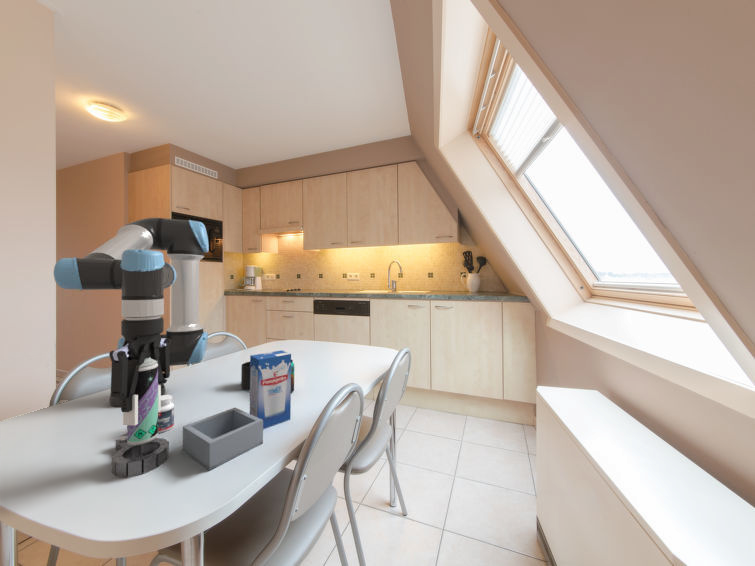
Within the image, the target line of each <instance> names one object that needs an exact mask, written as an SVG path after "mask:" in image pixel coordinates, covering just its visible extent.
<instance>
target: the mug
mask: <svg viewBox="0 0 755 566" xmlns="http://www.w3.org/2000/svg"><path fill="white" fill-rule="evenodd" d="M240 369H241V374H240V376H241V377H240V378H241V383H240V384H241V386H240V387H241V389H242V390H244V391H250V361H246V362H244V363H242V364H241V368H240Z"/></svg>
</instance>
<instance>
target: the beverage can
mask: <svg viewBox="0 0 755 566" xmlns="http://www.w3.org/2000/svg"><path fill="white" fill-rule="evenodd" d="M294 391H295V363H294V361H293V359H291V394H292V393H293V392H294Z"/></svg>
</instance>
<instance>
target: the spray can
mask: <svg viewBox="0 0 755 566" xmlns="http://www.w3.org/2000/svg"><path fill="white" fill-rule="evenodd" d="M127 391H128V390H127ZM134 395H138V424H137V425H135V426H132V425H126V429H127V431H126V432H127V433H126V434H127V443H128V444H129V445H140V444H144V443H147V442H149V441H151V440H153V439H155V438H157V437H158V435H159V433H158V364H157V360H154V359H151V357H149V356H148V357H146V358H145V360H144V363H143V364H142V365H140V366H139V374H138V381H137V385H136V389H135V393H134Z"/></svg>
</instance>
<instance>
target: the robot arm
mask: <svg viewBox="0 0 755 566" xmlns="http://www.w3.org/2000/svg"><path fill="white" fill-rule="evenodd" d="M209 247H210V245H209V236H208V233H207V228H206V226H205V224H204V223H203V222H201V221H198V220H191V219H175V218H174V219H173V218H163V217H162V218H161V217H147V218H141V219H138V220H134V221H131V222H128V223H127V224H125V225H123V226H122V227H120V228H119V229H118V231H117V232H116V235H115V236H114V237H112V238H109V240H108V241H106V242H105V243H103V244H102V245H100V246H99V247H97V248H96V249H94V250H93V251H91V252H90V253H88V254H87V255H85V256H84V257H75V256H74V257H63V258H60V259H59V260H58V261H56V262H55V265H54V268H53V278H54V282H55V283H56V285H57V286H58V287H60V288H61V289H64V290H80V291H83V290H84V291H87V290H88V291H89V290H91V291H92V290H93V291H95V290H99V291H100V290H102V291H103V290H104V291H105V290H108V291H109V290H110V291H111V290H121V317H122V318H124V319H122V320H121V325H120V327H121V329H120V331H121V332H120V333H121V334H120V335H121V336H122V337H120V338H119V339H118V341H117V349H116V350H111V351H109V353H108V355H109V359H110V361H111V372H110V373H111V374H110V395H109V405H110V406H111V407H118V408H119V407H120V410H121V413H122V416H123V417H122V420H123V421H122V423H123V424H122V425H123V426H127V425H132V426H135V425H137V424H138V395H134V393H135V389H136V385H137V381H138V374H139V366H140V365H142V364H143V363H144V360H145V358H146V357H148V356H149V357H151V359H154V360H157V364H158V412H160V411H161V396H162V395H166V386H165V384H166V383H167V381H168V379H169V378H170V377H171V369H170V368H171V367H172V366H173V367H174V366H184V365H187V366H189V365H194V364H195V365H196V364H199V363H201V362H202V361H203V360H204V358H205V355H206V351H207V345H208V338H209V333H208V332H207V331H204V326H202V324H200V323H199V321H200V261H201V260H203V258H205V253H209ZM162 251H166V256H167V257H168V258H169V259H171V264H169V263H168V262H167V261H165V258H164V253H163V252H162ZM170 286H171V323H170V326H169V327H167V328H166V330H165V329H164V323H165V321H164V318H163V317H162V316H163V315H164V314H165V297H164V296H165V295H164V293H165V291H164V290H165V289H168V288H169V287H170ZM164 331H166V332H165V334H162V333H163V332H164ZM127 390H128V391H127Z"/></svg>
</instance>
